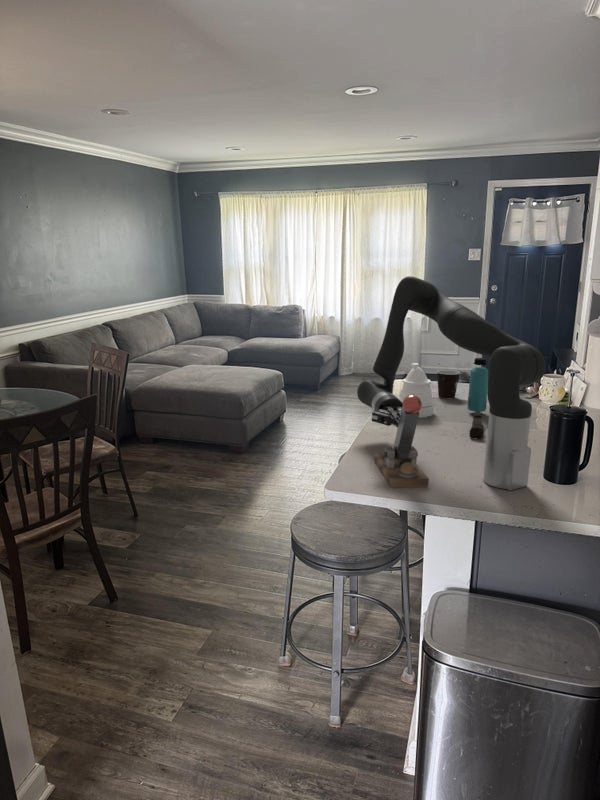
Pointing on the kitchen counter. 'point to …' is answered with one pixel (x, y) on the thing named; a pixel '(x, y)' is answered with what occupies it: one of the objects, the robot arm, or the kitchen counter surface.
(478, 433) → the hand tool
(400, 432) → the lever
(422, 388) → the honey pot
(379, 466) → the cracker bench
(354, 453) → the kitchen counter surface
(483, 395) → the beverage bottle
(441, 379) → the coffee mug
